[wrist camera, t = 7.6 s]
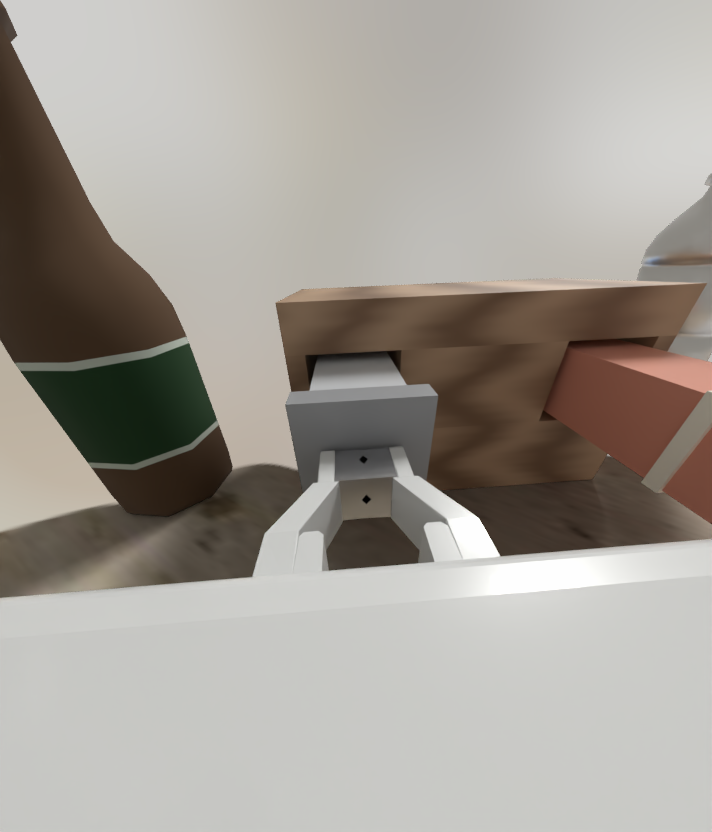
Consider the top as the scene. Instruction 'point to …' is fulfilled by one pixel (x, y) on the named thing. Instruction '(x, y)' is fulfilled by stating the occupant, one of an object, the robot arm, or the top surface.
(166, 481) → the beer bottle
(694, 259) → the plastic bottle
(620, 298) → the socket block
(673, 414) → the red plug
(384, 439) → the grey plug
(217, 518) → the top surface
